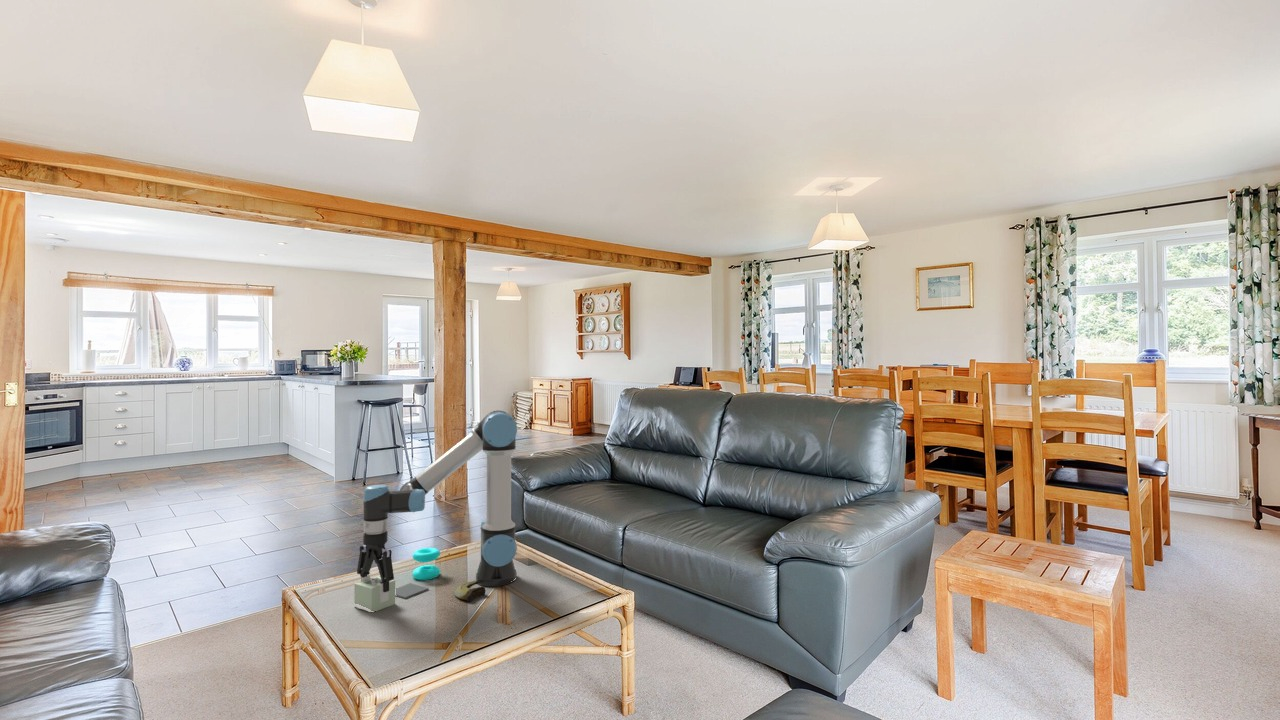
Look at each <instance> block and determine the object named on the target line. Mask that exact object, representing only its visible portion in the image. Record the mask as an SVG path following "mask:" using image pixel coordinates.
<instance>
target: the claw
mask: <svg viewBox="0 0 1280 720" xmlns="http://www.w3.org/2000/svg"><path fill="white" fill-rule="evenodd" d="M473 584H477V583H476V580H473V581H469V582H465V583H463V584H461V585H459V586H458V587H457V588H456V589H455V590H454V592H453V593H454V595H455V597H456V598H458V599H460V600H463V601H468V602H472V601H473V599H475V598H477V597H478V598H479V597H482V596H485V595H486V588H485V586H482V585H481V586H478V587H473V588H471V587H470V586H471V585H473ZM469 587H470V588H469Z"/></svg>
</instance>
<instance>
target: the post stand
mask: <svg viewBox="0 0 1280 720" xmlns="http://www.w3.org/2000/svg"><path fill="white" fill-rule="evenodd" d="M371 578H372V579H371V585H373V586H374V585H376V584H379V578H373V577H371Z"/></svg>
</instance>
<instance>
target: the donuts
mask: <svg viewBox="0 0 1280 720" xmlns="http://www.w3.org/2000/svg"><path fill="white" fill-rule="evenodd" d="M440 556H441V551H440V549H438V548H435V547H424V548H423V547H422V548H420V549H417V550H415V551H414V552H413V554H412V559H413V560H414V561H416V562H419V563H429V562H433V561H436V560H437V559H438V558H439V557H440ZM440 573H441V570H440V568H439V566H437V565H433V564H425V565H421V566H418V567H416V568H415V569H414V570H413V571H412V577H413V579H415V580H419V581H427V580H432V579H435V578H437V577H438V576H439V575H440Z"/></svg>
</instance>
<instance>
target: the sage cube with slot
mask: <svg viewBox="0 0 1280 720" xmlns="http://www.w3.org/2000/svg"><path fill="white" fill-rule="evenodd" d="M372 578H379V584H376V585H374V586H373V585H371V579H372ZM380 582H382V580H381V577H380V575H376V576H373V577H370V579H367V580H364V581H361V580H360V581H359V582H355V583H354V603H355V604H359V605H361V606H363V607H366V608H368V609H370V610H371V611H376V612H378V611H380V610H384V609H386V608H388V607H390V606H393V605H395V604H396V596H395V589H396V580H395V579H394V580H391V581H389V595H388V600H387V601H385V602H382V603H380ZM354 603H353V604H354Z"/></svg>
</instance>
